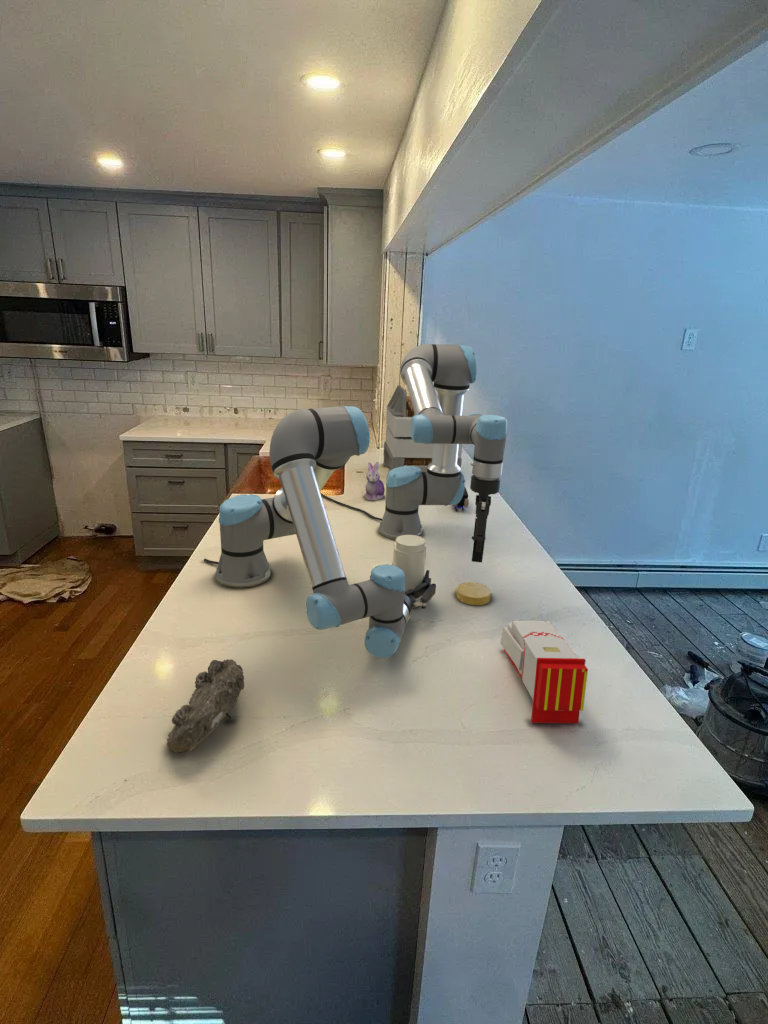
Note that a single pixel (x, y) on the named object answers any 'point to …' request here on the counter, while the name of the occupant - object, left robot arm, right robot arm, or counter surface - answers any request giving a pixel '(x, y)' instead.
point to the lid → (473, 593)
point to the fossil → (206, 705)
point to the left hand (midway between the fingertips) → (411, 572)
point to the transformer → (405, 435)
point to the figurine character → (463, 501)
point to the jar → (410, 559)
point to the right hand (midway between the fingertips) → (477, 550)
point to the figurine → (374, 483)
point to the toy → (547, 670)
